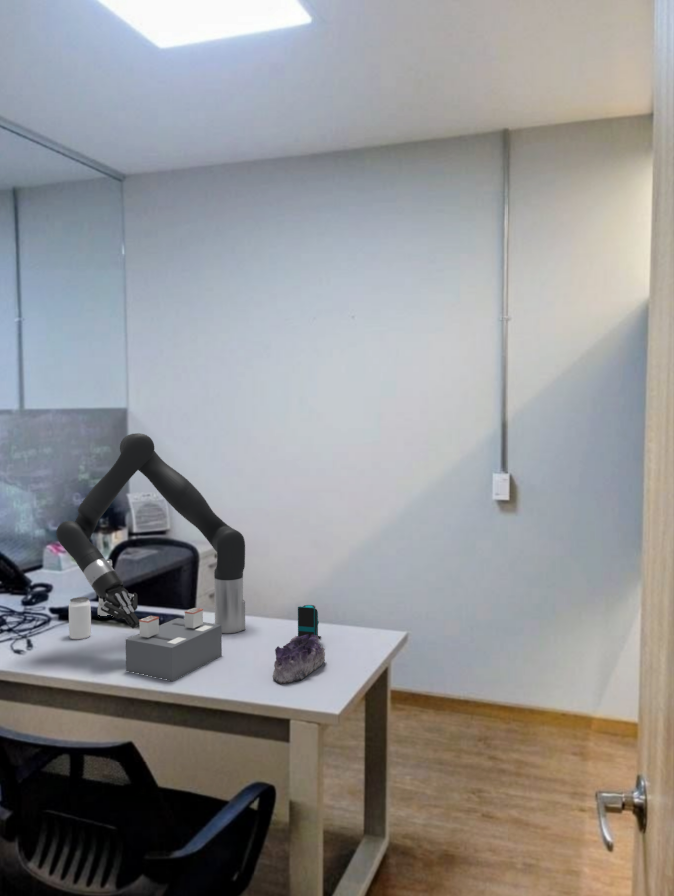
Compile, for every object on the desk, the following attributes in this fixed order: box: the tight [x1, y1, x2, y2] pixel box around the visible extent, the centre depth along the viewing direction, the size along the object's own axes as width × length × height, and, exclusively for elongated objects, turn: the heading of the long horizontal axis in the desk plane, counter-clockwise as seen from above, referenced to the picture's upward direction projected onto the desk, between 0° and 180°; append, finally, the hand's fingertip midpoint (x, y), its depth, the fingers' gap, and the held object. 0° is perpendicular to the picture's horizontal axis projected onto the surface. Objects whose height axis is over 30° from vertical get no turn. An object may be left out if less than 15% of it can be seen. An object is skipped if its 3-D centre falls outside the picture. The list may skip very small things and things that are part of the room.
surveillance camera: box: [297, 604, 322, 640], centre depth 216 cm, size 6×12×10 cm
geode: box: [272, 634, 326, 686], centre depth 191 cm, size 20×12×10 cm, turn 160°
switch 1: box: [138, 615, 160, 638], centre depth 194 cm, size 3×4×4 cm
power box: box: [125, 617, 223, 682], centre depth 197 cm, size 16×22×9 cm
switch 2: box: [184, 607, 204, 628], centre depth 202 cm, size 3×4×4 cm
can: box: [68, 596, 92, 641], centre depth 221 cm, size 6×6×12 cm
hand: (136, 626), depth 196 cm, fingers closed
